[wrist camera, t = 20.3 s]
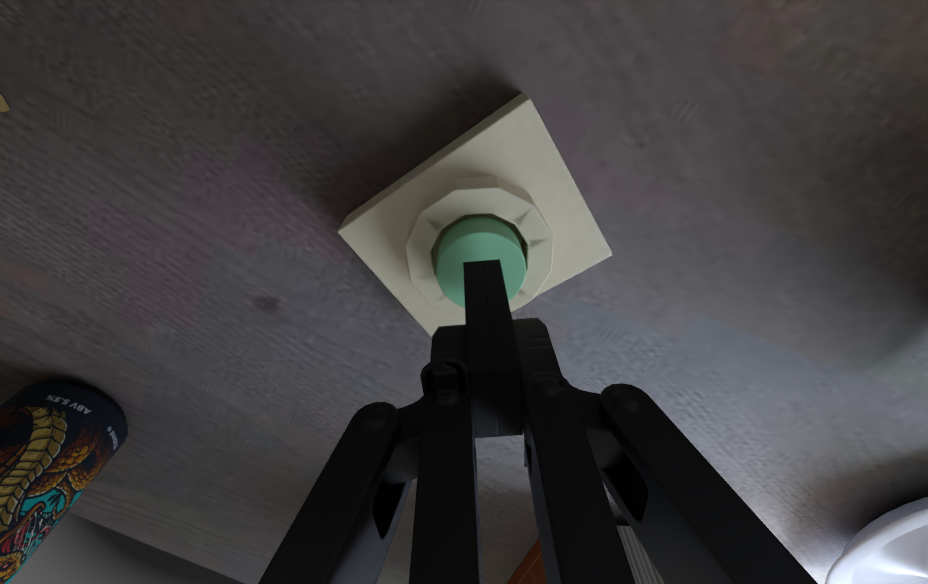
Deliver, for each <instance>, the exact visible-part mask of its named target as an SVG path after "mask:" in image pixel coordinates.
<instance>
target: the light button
mask: <svg viewBox="0 0 928 584" xmlns="http://www.w3.org/2000/svg"><path fill="white" fill-rule="evenodd" d="M497 259H500V263H501V267H502V272H503V277H504V282H505V287H506V292H507V297H508V301H510V300H511V299H512V298H513V297H514V296H515V295H516V294H517V293H518V292H519V290H520V289H521V287H522V285H523V283H524V280H525V276H526V263H525V259H524V256H523V252H522V249H521V246H520V243H519V241H518V238H517V237H516V235H515V234H514V232H513V231H512V230H511V229H510V228H509V227H508V226H506V225H505V224H503V223H502V222H500V221H497V220H495V219H491V218H485V217H476V218H470V219H466V220H464V221H461V222H459V223H458V224H456V225H454V226H453V227H452V228H451V229H450V230H449V231H447V233H446V234H445V235H444V237H443V238H442V240H441V243H440V245H439V249H438V257H437V270H436V272H437V280H438V283H439V286H440V288H441V290H442V291H443V293H444V294H445V295H446V296H447V297H448V299H450V300H451V301H452V302H454V303H455V304H457V305H459V306H461V307H464V308H465V296H464V269H463V262H472V261H484V260H497Z"/></svg>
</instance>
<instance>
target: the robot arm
mask: <svg viewBox="0 0 928 584" xmlns="http://www.w3.org/2000/svg"><path fill="white" fill-rule="evenodd" d="M463 269H464V296H465V322H466V324H463V325H450V326H439V327H438V328H437V330H436V331H435V333H434V334H433V335H432V348H431V360H430V363H428V364H427V365H426V366H425V367H424V368H423V369H422V372H421V375H420V376H421V382H422V387H423V393H424V396H423V397H422V398H421V399H419V400H418V401H416V402H415V403H413V404H410V405H408V406H405V407H402V408H399V409H396V408H395V407H394V406H393V405H392V404H389V403H386V402H374V403H371V404H368V405H366V406H364V407H363V408H361V409H360V410H358V411H357V412H356V414H355V415H354V416H353V417H352V419H351V421H350V423H349V424H348V426H347V428H346V430H345V432H344V433H343V435H342V437H341V439H340V440H339V442H338V444H337V446H336V447H335V449H334V451H333V453H332V454H331V456H330V458H329V460H328V461H327V463H326V465H325V467H324V469H323V470H322V472H321V474H320V476H319V477H318V479H317V481H316V483H315V484H314V486H313V488H312V490H311V491H310V493H309V495H308V497H307V498H306V500H305V502H304V504H303V506H302V507H301V509H300V511H299V513H298V514H297V516H296V518H295V520H294V521H293V523H292V525H291V527H290V528H289V530H288V532H287V534H286V535H285V537H284V539H283V541H282V543H281V544H280V546H279V548H278V550H277V551H276V553H275V555H274V557H273V558H272V560H271V562H270V564H269V565H268V567H267V569H266V571H265V572H264V574H263V576H262V578H261V580H260V581H259V583H258V584H376V582H377V579H378V577H379V574H380V571H381V568H382V565H383V563H384V560H385V557H386V554H387V551H388V549H389V546H390V543H391V540H392V537H393V534H394V532H395V529H396V526H397V523H398V520H399V518H400V515H401V512H402V509H403V506H404V503H405V501H406V498H407V495H408V492H409V489H410V487H411V484H412V480H413V479H415V478H417V490H416V502H415V515H414V527H413V539H412V551H411V563H410V575H409V584H483V569H482V551H481V533H480V515H479V496H478V478H477V460H476V447H475V438H484V437H498V436H512V435H523V433H524V456H525V467H527V468H528V474H529V480H530V486H531V492H532V498H533V504H534V510H535V516H536V522H537V528H538V534H539V540H540V546H541V552H542V558H543V564H544V570H545V577H546V583H547V584H636V582H635V579H634V576H633V573H632V570H631V567H630V564H629V561H628V558H627V555H626V552H625V549H624V546H623V543H622V540H621V537H620V534H619V531H618V528H617V525H616V522H615V519H614V516H613V513H612V510H611V507H610V503H609V500H608V497H607V494H606V491H605V488H604V485H605V486H606V488H607V490H608V491H609V493H610V494H611V496H612V498H613V499H614V501H615V503H616V504H617V506H618V507H619V509H620V511H621V512H622V514H623V516H624V517H625V519H626V520H627V522H628V524H629V525H630V527H631V529H632V530H633V532H634V534H635V535H636V537H637V538H638V540H639V542H640V543H641V545H642V547H643V548H644V550H645V551H646V553H647V555H648V556H649V558H650V560H651V561H652V563H653V564H654V566H655V568H656V569H657V571H658V573H659V574H660V576H661V577H662V579H663V581H664V582H665V584H818V583H817V582H816V581H815V580H814V579H813V578H812V577H811V576H810V574H809V573H808V572H807V571H806V570H805V569H804V568H803V567H802V566H801V564H800V563H799V562H798V561H797V560H796V559H795V558H794V557H793V556H792V554H791V553H790V552H789V551H788V550H787V549H786V548H785V547H784V546H783V544H782V543H781V542H780V541H779V540H778V539H777V538H776V537H775V536H774V534H773V533H772V532H771V531H770V530H769V529H768V528H767V527H766V526H765V524H764V523H763V522H762V521H761V520H760V519H759V518H758V517H757V516H756V514H755V513H754V512H753V511H752V510H751V509H750V508H749V507H748V506H747V504H746V503H745V502H744V501H743V500H742V499H741V498H740V497H739V496H738V494H737V493H736V492H735V491H734V490H733V489H732V488H731V487H730V486H729V484H728V483H727V482H726V481H725V480H724V479H723V478H722V477H721V476H720V474H719V473H718V472H717V471H716V470H715V469H714V468H713V467H712V466H711V464H710V463H709V462H708V461H707V460H706V459H705V458H704V457H703V456H702V454H701V453H700V452H699V451H698V450H697V449H696V448H695V447H694V446H693V444H692V443H691V442H690V441H689V440H688V439H687V438H686V437H685V436H684V434H683V433H682V432H681V431H680V430H679V429H678V428H677V427H676V426H675V424H674V423H673V422H672V421H671V420H670V419H669V418H668V417H667V416H666V414H665V413H664V412H663V411H662V410H661V409H660V408H659V407H658V406H657V404H656V403H655V402H654V401H653V400H652V399H651V398H650V397H649V396H648V395H647V394H646V393H645V392H644V391H642V390H641V389H639V388H637V387H635V386H632V385H628V384H622V383H621V384H612V385H610V386H608V387H606V388H605V389H604V390H603V391H602V392H601V394H598V393H592V392H587V391H583V390H579V389H577V388H575V387H573V386H571V385H570V384H569V383H568V381H567V380H566V379H565V378H564V377H563V376H562V374H561V371H560V368H559V365H558V361H557V358H556V355H555V352H554V349H553V346H552V343H551V340H550V338H549V333H548V330H547V327H546V325H545V324H544V323H542V322H541V321H540V320H539V319H538V318H529V319H516V320H512V316H511V311H510V306H509V301H508V297H507V292H506V287H505V282H504V277H503V272H502V267H501V263H500V259H497V260H484V261H472V262H463ZM602 481H603V482H602ZM603 483H604V485H603Z"/></svg>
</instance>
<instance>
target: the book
mask: <svg viewBox="0 0 928 584" xmlns="http://www.w3.org/2000/svg"><path fill="white" fill-rule="evenodd" d="M617 528H618V531H619V534H620V537H621V540H622V543H623V546H624V549H625V552H626V555H627V558H628V561H629V564H630V567H631V570H632V573H633V576H634V579H635V582H636V584H665V582H664V581H663V579H662V577H661V576H660V574H659V573H658V571H657V569H656V568H655V566H654V564H653V563H652V561H651V560H650V558H649V556H648V555H647V553H646V551H645V550H644V548H643V547H642V545H641V543H640V542H639V540H638V538H637V537H636V535H635V534H634V532H633V530H632V529H631V527H630V526H617ZM507 584H547V583H546V577H545V570H544V564H543V558H542V552H541V546H540V540H539V539H538V540H537V541H536V543H535V544H534V546H533V547H532V549H531V550H530V551H529V553H528V554H527V556H526V557H525V558H524V560H523V561H522V563H521V564H520V566H519V567H518V568H517V570H516V571H515V573H514V574H513V576H512V577H511V578H510V580H509V581H508V583H507Z"/></svg>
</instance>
